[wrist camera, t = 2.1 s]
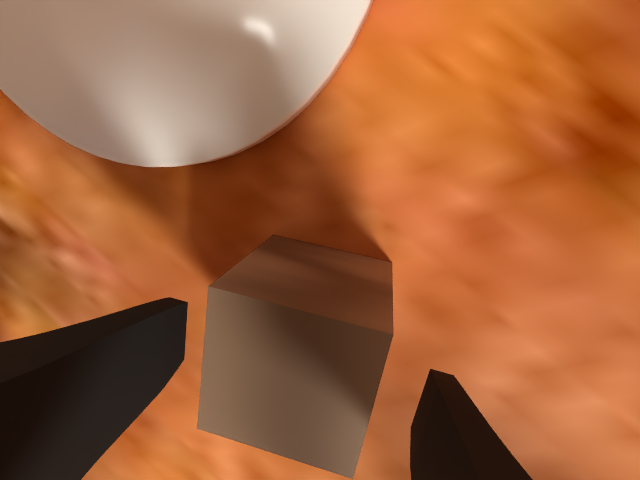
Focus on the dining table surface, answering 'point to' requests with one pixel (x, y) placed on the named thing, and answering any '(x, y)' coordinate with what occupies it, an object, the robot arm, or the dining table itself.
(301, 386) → the walnut block
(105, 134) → the white plate
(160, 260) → the dining table surface
